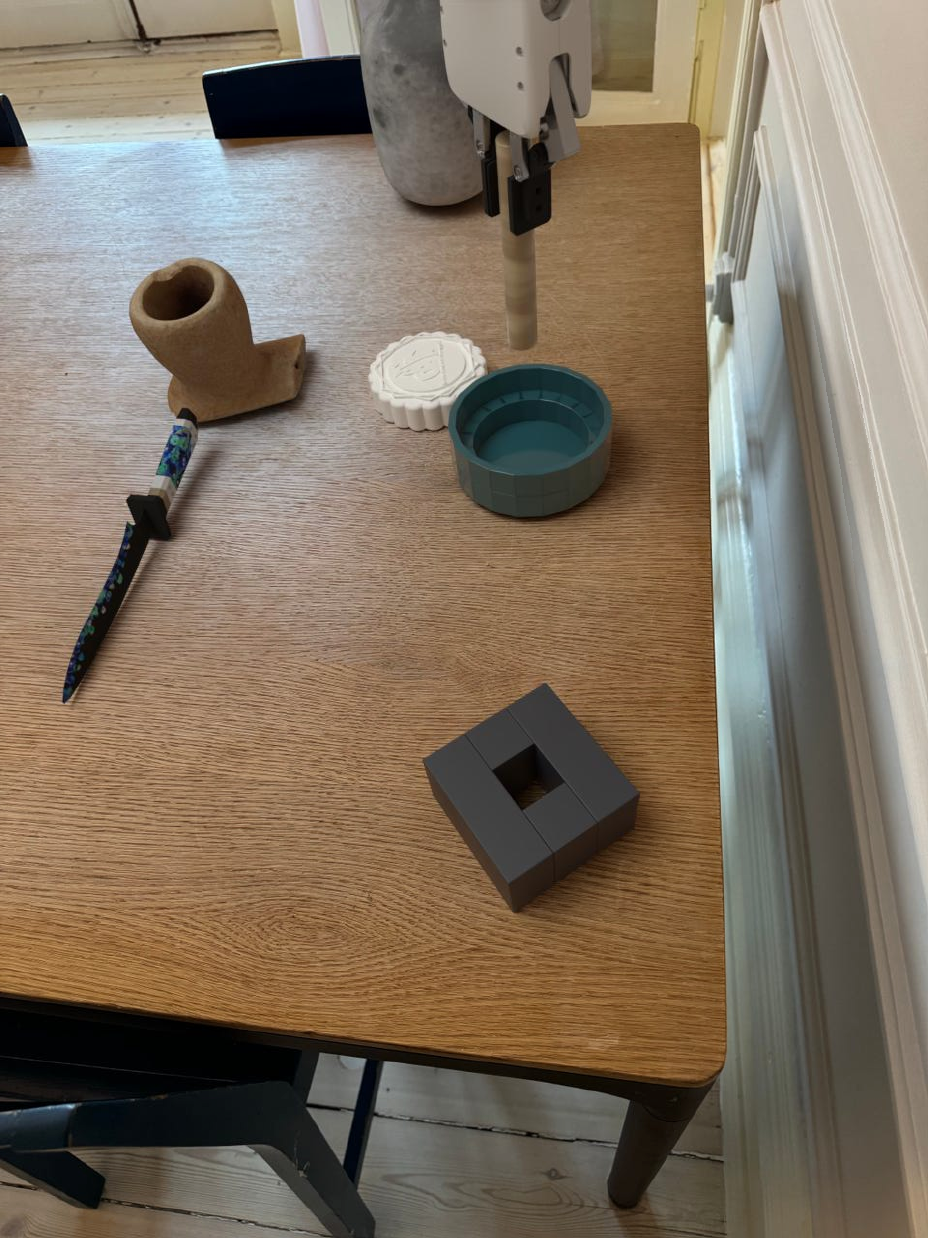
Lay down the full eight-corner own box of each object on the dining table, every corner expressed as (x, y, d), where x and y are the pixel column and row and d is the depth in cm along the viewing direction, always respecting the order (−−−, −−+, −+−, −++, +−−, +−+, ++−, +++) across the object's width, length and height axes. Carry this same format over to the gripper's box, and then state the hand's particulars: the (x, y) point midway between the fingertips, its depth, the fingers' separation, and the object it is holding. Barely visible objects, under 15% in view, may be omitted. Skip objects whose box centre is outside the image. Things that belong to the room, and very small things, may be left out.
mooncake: (371, 363, 91) (364, 335, 88) (482, 347, 91) (479, 318, 88) (375, 440, 84) (368, 412, 81) (495, 422, 84) (493, 394, 81)
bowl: (548, 393, 86) (547, 343, 81) (641, 473, 78) (646, 424, 73) (427, 456, 82) (418, 408, 77) (512, 547, 74) (508, 500, 70)
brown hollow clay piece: (171, 450, 86) (106, 323, 74) (173, 377, 93) (114, 250, 81) (318, 420, 87) (278, 289, 74) (310, 350, 94) (271, 219, 81)
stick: (526, 328, 70) (518, 123, 57) (543, 342, 69) (539, 137, 56) (502, 340, 69) (488, 136, 56) (519, 354, 68) (508, 149, 55)
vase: (401, 160, 116) (356, -123, 92) (517, 160, 113) (503, -133, 88) (370, 225, 107) (312, -69, 83) (496, 227, 104) (473, -77, 80)
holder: (547, 722, 64) (545, 681, 59) (634, 828, 59) (640, 793, 54) (433, 796, 62) (421, 759, 57) (513, 913, 56) (508, 884, 51)
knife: (195, 433, 85) (176, 402, 82) (222, 437, 85) (204, 405, 81) (53, 710, 72) (22, 688, 68) (84, 716, 71) (54, 694, 67)
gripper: (657, -100, 42) (632, 246, 57) (478, -158, 51) (497, 157, 66) (533, -55, 40) (541, 290, 55) (369, -123, 49) (415, 192, 64)
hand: (517, 215), depth 60 cm, fingers closed on stick, 2 cm apart
